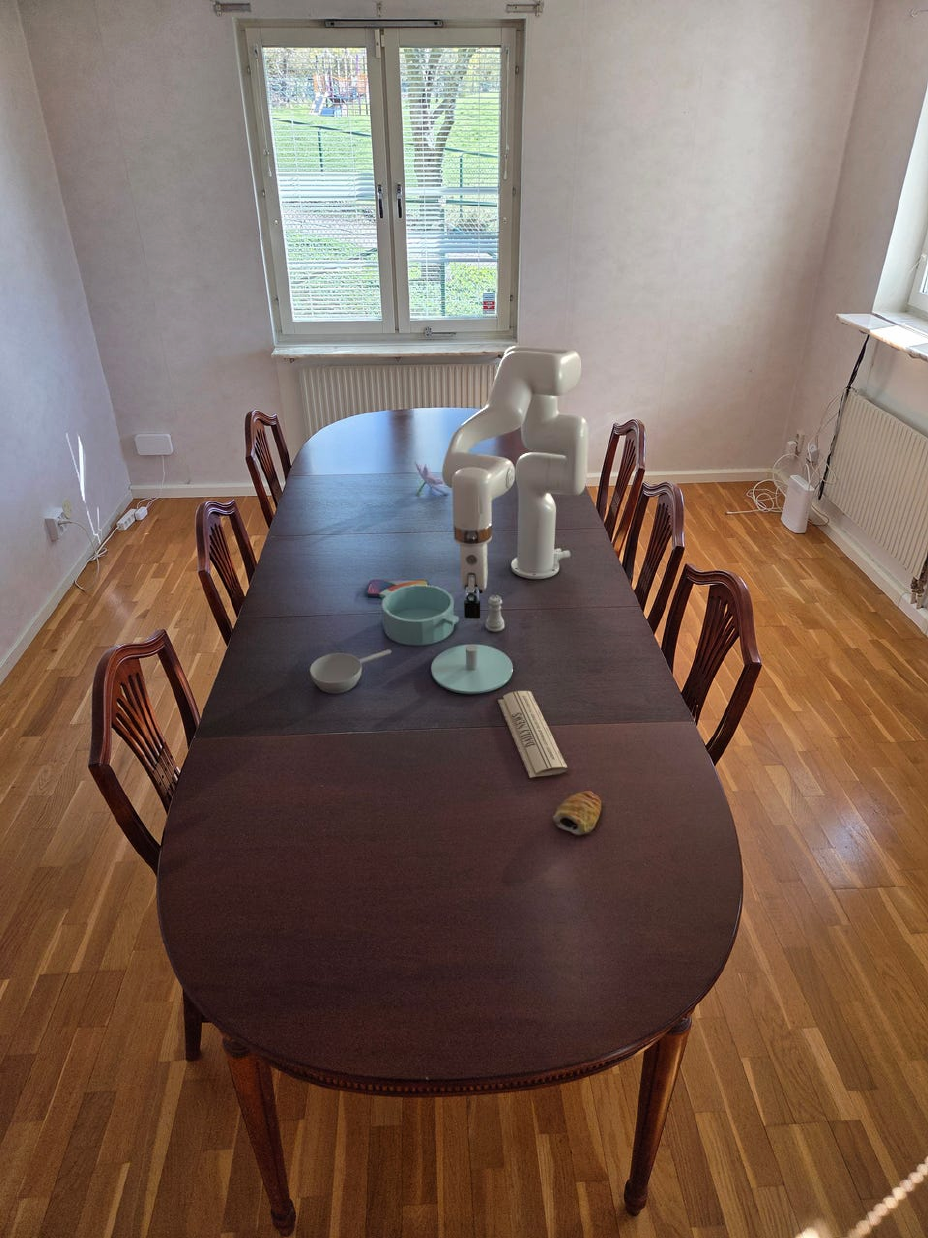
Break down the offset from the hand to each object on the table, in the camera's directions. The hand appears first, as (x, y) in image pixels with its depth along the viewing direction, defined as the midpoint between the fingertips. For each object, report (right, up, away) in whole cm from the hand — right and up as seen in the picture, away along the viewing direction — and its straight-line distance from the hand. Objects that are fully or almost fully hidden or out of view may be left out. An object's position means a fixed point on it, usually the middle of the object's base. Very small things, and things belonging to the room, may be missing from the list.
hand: (473, 605), depth 170 cm
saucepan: (-26, -15, +6) cm, 31 cm away
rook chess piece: (+5, -5, +22) cm, 23 cm away
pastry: (+17, -37, -30) cm, 51 cm away
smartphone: (-19, +4, +38) cm, 42 cm away
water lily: (-12, +37, +91) cm, 99 cm away
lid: (0, -14, +7) cm, 15 cm away
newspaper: (+11, -25, -11) cm, 30 cm away
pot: (-13, -5, +23) cm, 27 cm away
